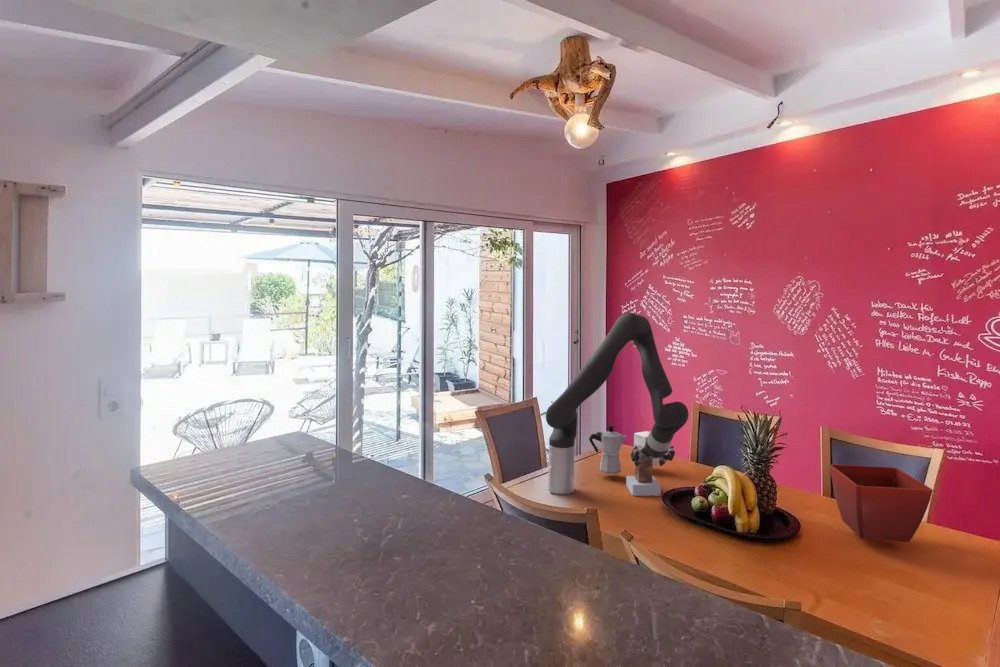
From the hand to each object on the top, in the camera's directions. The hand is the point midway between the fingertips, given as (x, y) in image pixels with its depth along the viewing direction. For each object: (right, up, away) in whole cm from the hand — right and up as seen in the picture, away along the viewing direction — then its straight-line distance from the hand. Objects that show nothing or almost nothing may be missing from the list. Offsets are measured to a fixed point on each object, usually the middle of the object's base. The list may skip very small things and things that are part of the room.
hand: (648, 464), depth 196 cm
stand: (0, -11, +6) cm, 13 cm away
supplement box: (+7, -7, +28) cm, 30 cm away
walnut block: (0, -7, +6) cm, 10 cm away
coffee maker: (-10, -8, +21) cm, 25 cm away
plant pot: (+57, -12, -35) cm, 68 cm away
